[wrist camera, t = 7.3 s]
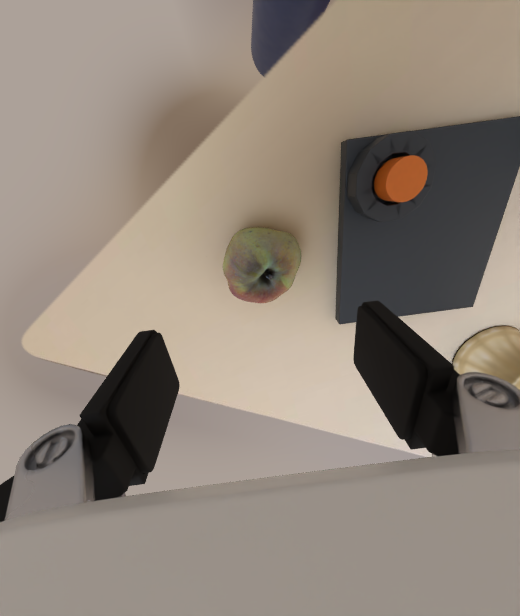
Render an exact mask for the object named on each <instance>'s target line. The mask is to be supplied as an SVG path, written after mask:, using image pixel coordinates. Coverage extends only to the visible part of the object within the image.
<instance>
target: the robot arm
mask: <svg viewBox="0 0 520 616" xmlns="http://www.w3.org/2000/svg"><path fill="white" fill-rule="evenodd" d="M354 364H355V366H356V368H357V370H358V371H359V373H360V375H361V376H362V378H363V379H364V381H365V383H366V384H367V386H368V388H369V389H370V391H371V393H372V394H373V396H374V398H375V399H376V401H377V403H378V404H379V406H380V408H381V409H382V411H383V412H384V414H385V416H386V417H387V419H388V421H389V422H390V424H391V426H392V427H393V429H394V431H395V432H396V434H397V435H398V437H399V438H400V439H405V441H406V443H407V444H408V446H409V447H410V449H418V448H427V450H428V451H429V452H430V453H432V457H427V458H418V459H410V460H403V461H394V462H386V463H378V464H370V465H362V466H354V467H346V468H337V469H329V470H322V471H314V472H306V473H298V474H291V475H282V476H275V477H267V478H259V479H252V480H245V481H236V482H229V483H221V484H213V485H206V486H198V487H191V488H184V489H176V490H169V491H162V492H154V493H147V494H140V495H132V496H125V492H126V491H127V489H128V487H129V486H132V485H139V484H145V482H146V479H147V476H148V473H149V472H151V471H152V470H153V469H154V466H155V463H156V460H157V457H158V454H159V451H160V448H161V444H162V441H163V438H164V435H165V432H166V429H167V426H168V422H169V419H170V416H171V413H172V410H173V407H174V403H175V400H176V397H177V394H178V391H179V380H178V377H177V375H176V372H175V369H174V367H173V364H172V361H171V359H170V356H169V353H168V351H167V348H166V345H165V343H164V340H163V337H162V335H161V334H160V333H157V332H156V331H155V330H150V331H142V332H139V333H138V334H137V335H136V337H135V338H134V340H133V341H132V342H131V344H130V345H129V347H128V348H127V349H126V351H125V352H124V354H123V355H122V356H121V358H120V359H119V361H118V362H117V363H116V365H115V366H114V368H113V369H112V370H111V372H110V373H109V375H108V376H107V377H106V379H105V380H104V382H103V383H102V385H101V386H100V387H99V389H98V390H97V392H96V393H95V394H94V396H93V397H92V399H91V400H90V401H89V403H88V404H87V406H86V407H85V408H84V410H83V411H82V413H81V414H80V417H81V421H80V422H79V423H78V425H72V424H69V425H64V426H60V427H58V428H55V429H53V430H51V431H49V432H48V433H46V434H44V435H43V436H41V437H40V438H39V439H37V440H36V441H35V442H33V443H32V444H31V445H30V446H29V447H28V448H27V449H26V450H25V452H24V453H23V455H22V456H21V457H20V459H19V461H18V464H17V466H16V471H15V475H14V476H13V477H11V478H10V479H9V480H7V481H5V482H4V483H2V484H1V485H0V616H520V390H519V389H518V388H517V387H516V386H514V385H512V384H511V383H509V382H507V381H506V380H503V379H501V378H499V377H496V376H493V375H489V374H486V373H479V372H467V373H464V374H461V375H460V374H459V373H457V372H456V371H455V370H454V367H455V366H453V365H452V364H451V363H450V362H449V361H448V360H446V359H445V358H444V357H443V356H442V355H441V354H440V353H438V352H437V351H436V350H435V349H434V348H433V347H432V346H430V345H429V344H428V343H427V342H426V341H425V340H424V339H422V338H421V337H420V336H419V335H418V334H417V333H416V332H414V331H413V330H412V329H411V328H410V327H409V326H407V325H406V324H405V323H404V322H403V321H402V320H401V319H399V318H398V317H397V316H396V315H395V314H394V313H393V312H391V311H390V310H389V309H388V308H387V307H386V306H385V305H383V304H382V303H381V302H380V301H378V300H376V301H369V302H363V303H362V305H361V306H359V307H358V310H357V321H356V334H355V346H354Z"/></svg>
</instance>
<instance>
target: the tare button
mask: <svg viewBox="0 0 520 616" xmlns="http://www.w3.org/2000/svg"><path fill="white" fill-rule="evenodd" d="M427 174H428V170H427V165H426V163H425V162H424V160H423V159H422V158H420V157H418V156H415V155H409V156H404V157H398V158H393V159H390V160H388V161H387V162H385V163H384V164H383V165H382V166H381V167H380V169H379V170H378V172H377V174H376V176H375V180H374V189H375V192H376V194H377V196H378V197H379V198H380V199H382V200H385V201H392V202H406V201H409V200H411V199H413V198H414V197H415V196H417V195H418V194H419V193H420V191H421V190H422V189H423V187H424V185H425V183H426V180H427Z"/></svg>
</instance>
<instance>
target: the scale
mask: <svg viewBox="0 0 520 616" xmlns="http://www.w3.org/2000/svg"><path fill="white" fill-rule="evenodd" d="M409 155H415V156H418V157H420V158H422V159H423V160H424V162H425V163H426V165H427V170H428V174H427V180H426V183H425V185H424V187H423V189H422V190H421V191H420V193H419V194H418V195H417V196H415V197H414V198H413V199H411V200H409V201H406V202H392V201H385V200H382V199H380V198H379V197H378V196H377V194H376V192H375V189H374V180H375V176H376V174H377V172H378V170H379V169H380V167H381V166H382V165H383V164H384V163H385V162H387V161H388V160H390V159H393V158H398V157H404V156H409ZM519 167H520V116H519V117H511V118H504V119H497V120H489V121H482V122H475V123H467V124H460V125H452V126H445V127H438V128H430V129H423V130H415V131H406V132H399V133H392V134H386V135H379V136H371V137H364V138H356V139H349V140H346V141H343V142H342V143H341V169H340V200H339V231H338V261H337V292H336V320H337V321H338V323H339V324H345V323H353V322H356V321H357V310H358V307H359V306H361V305H362V303H363V302H369V301H376V300H378V301H380V302H381V303H382V304H383V305H385V306H386V307H387V308H388V309H389V310H390V311H391V312H393V313H394V314H395V315H396V316H397V317H398V316H406V315H413V314H421V313H429V312H436V311H444V310H451V309H459V308H467V307H473V305H474V302H475V299H476V296H477V293H478V290H479V287H480V284H481V281H482V278H483V275H484V272H485V269H486V266H487V263H488V260H489V257H490V254H491V251H492V248H493V245H494V242H495V239H496V236H497V233H498V230H499V227H500V224H501V221H502V218H503V215H504V212H505V209H506V206H507V203H508V200H509V197H510V194H511V191H512V188H513V185H514V182H515V179H516V176H517V173H518V170H519Z"/></svg>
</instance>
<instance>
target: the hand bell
mask: <svg viewBox="0 0 520 616" xmlns="http://www.w3.org/2000/svg"><path fill="white" fill-rule="evenodd" d="M453 366H455V367H454V370H455V371H456V372H457V373H459V374H460V375H461V374H464V373H467V372H479V373H486V374H489V375H493V376H496V377H499V378H501V379H503V380H506V381H507V382H509V383H511V384H512V385H514V386H516V387H517V388H518V389H519V390H520V331H519V330H517V329H515V328H513V327H509V326H498V327H493V328H489V329H487V330H484V331H482V332H480V333H478V334H476V335H475V336H473V337H472V338H471V339H469V340H468V341H467V342H466V343H464V345H463V346H462V347H461V348H460V349H459V350H458V352H457V354H456V356H455V358H454V360H453Z"/></svg>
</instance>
